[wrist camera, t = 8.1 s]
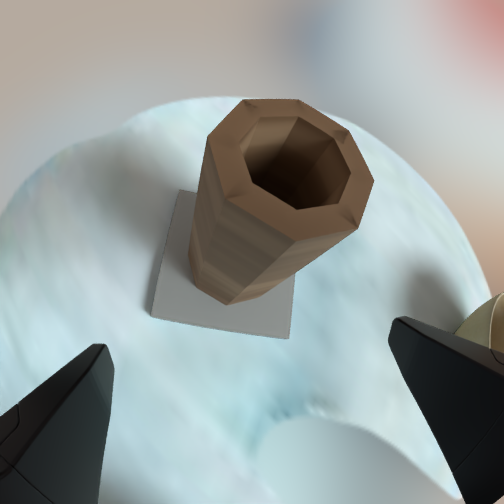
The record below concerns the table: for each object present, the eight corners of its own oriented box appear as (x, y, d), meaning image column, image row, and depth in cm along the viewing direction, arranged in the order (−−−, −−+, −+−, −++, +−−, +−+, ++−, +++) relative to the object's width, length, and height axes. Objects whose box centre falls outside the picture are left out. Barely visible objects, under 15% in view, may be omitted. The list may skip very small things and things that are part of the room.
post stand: (285, 339, 22) (315, 334, 17) (151, 317, 20) (143, 306, 15) (295, 220, 26) (322, 190, 21) (179, 194, 24) (181, 156, 19)
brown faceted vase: (280, 291, 22) (392, 221, 10) (202, 311, 20) (240, 253, 9) (257, 218, 24) (332, 101, 12) (182, 232, 22) (197, 101, 10)
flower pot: (480, 304, 29) (523, 291, 22) (482, 382, 26) (528, 378, 19) (433, 306, 27) (486, 291, 20) (435, 400, 23) (489, 401, 17)
